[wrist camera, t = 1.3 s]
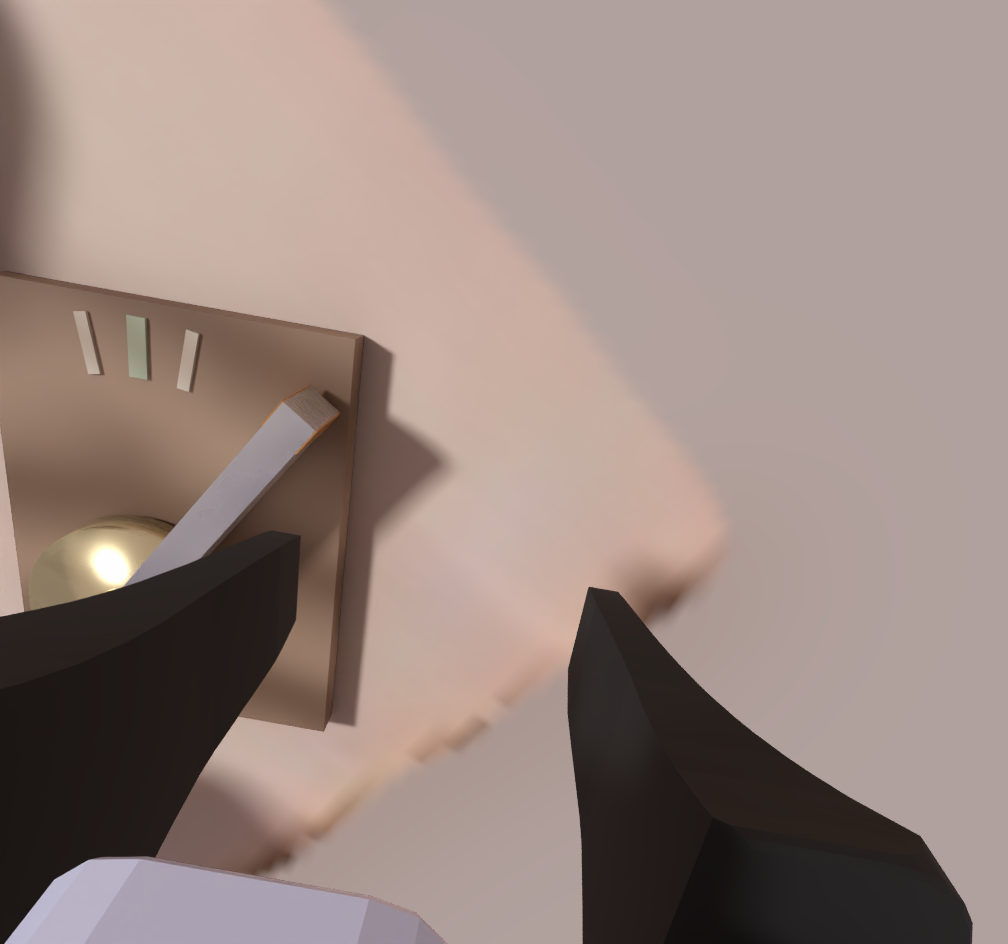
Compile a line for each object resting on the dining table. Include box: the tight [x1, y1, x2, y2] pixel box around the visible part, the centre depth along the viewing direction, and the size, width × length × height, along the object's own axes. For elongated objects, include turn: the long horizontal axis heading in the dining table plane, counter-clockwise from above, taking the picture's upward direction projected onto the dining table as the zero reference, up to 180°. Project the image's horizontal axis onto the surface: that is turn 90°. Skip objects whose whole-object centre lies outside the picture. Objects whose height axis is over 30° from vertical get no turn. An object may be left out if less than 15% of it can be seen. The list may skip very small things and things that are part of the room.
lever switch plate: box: [0, 271, 364, 732], centre depth 22 cm, size 16×12×1 cm
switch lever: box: [28, 385, 341, 610], centre depth 20 cm, size 14×7×2 cm, turn 135°
